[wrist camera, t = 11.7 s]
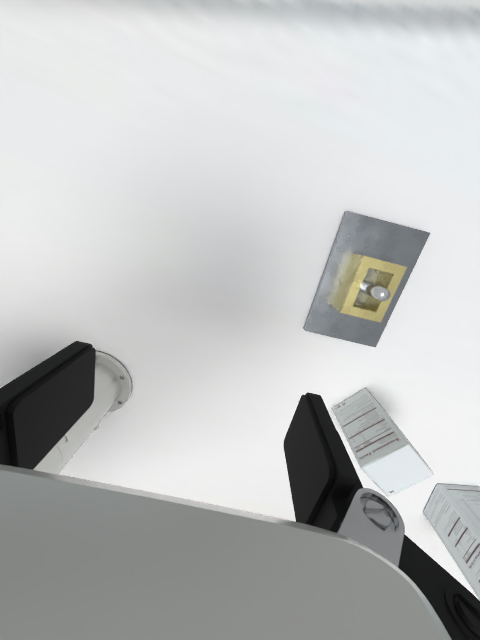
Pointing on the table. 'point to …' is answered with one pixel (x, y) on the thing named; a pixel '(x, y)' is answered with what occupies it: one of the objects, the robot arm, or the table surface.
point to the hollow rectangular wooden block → (353, 281)
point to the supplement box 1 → (380, 444)
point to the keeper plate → (372, 242)
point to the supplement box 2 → (458, 526)
